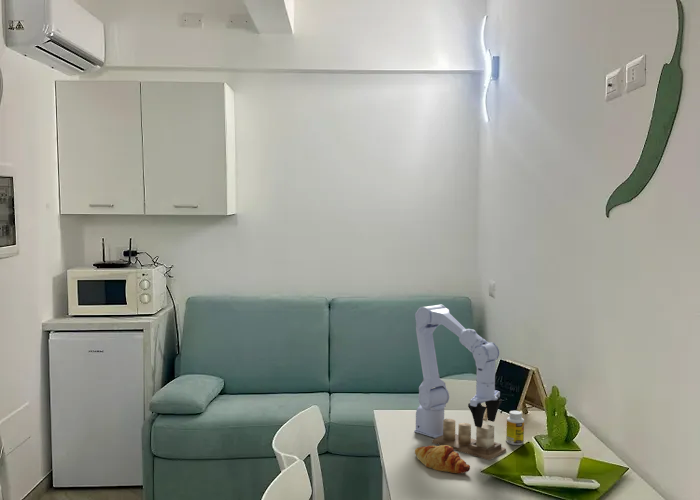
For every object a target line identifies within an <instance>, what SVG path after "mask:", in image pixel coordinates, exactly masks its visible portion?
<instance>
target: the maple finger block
mask: <svg viewBox="0 0 700 500" xmlns="http://www.w3.org/2000/svg"><path fill="white" fill-rule="evenodd" d="M475 430H476V432H475V433H476V435H475V436H476V437H475V438H476V439H475V440H476V446H480V447H483V448H487V449H488V448H490V447H492V446H494V442H495V426H494V425H491V424H487V423H484V422H483V424H482V427H481V428H480V427H476V428H475Z"/></svg>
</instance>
